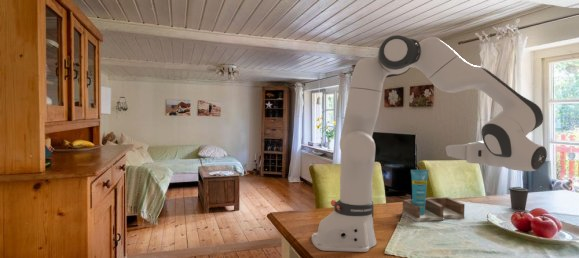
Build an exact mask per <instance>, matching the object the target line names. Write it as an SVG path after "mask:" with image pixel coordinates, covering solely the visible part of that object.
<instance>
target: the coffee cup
mask: <svg viewBox="0 0 579 258" xmlns="http://www.w3.org/2000/svg"><path fill="white" fill-rule="evenodd" d="M508 190H509V195H510V205H511V206H510V207H511V209H512V210H515V211H516V210H517V211H526V206H527V201H528V196H529V192H530V190H529V189H527V188H524V187H521V186H513V187H509V188H508Z"/></svg>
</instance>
